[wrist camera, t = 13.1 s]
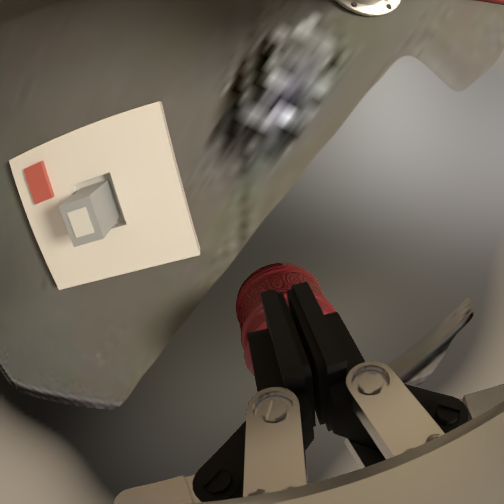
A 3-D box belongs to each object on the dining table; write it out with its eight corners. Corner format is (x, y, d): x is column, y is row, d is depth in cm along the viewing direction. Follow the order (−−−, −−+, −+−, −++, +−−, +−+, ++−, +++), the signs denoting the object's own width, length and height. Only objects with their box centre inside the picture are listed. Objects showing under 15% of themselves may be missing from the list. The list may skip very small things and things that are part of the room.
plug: (109, 179, 38) (88, 196, 30) (120, 214, 40) (103, 239, 33) (82, 187, 38) (58, 206, 30) (94, 222, 40) (73, 247, 32)
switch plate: (161, 101, 35) (158, 101, 32) (200, 248, 44) (200, 257, 41) (16, 157, 34) (5, 161, 32) (63, 283, 43) (57, 292, 41)
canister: (230, 331, 51) (244, 421, 35) (240, 257, 45) (260, 341, 29) (308, 332, 53) (343, 413, 37) (327, 262, 48) (380, 337, 32)
